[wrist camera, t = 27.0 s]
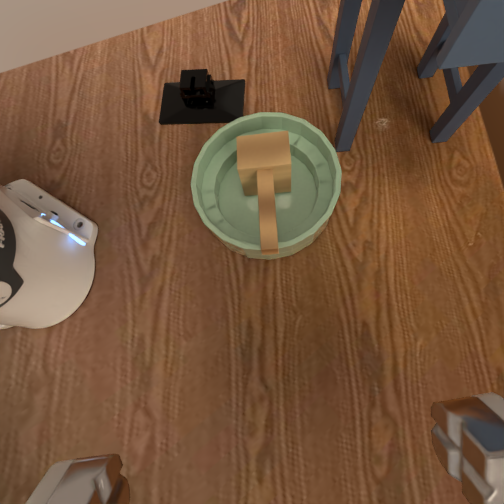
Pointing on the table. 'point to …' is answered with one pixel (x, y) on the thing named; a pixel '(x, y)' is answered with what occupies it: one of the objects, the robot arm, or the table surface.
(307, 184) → the bowl
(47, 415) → the table surface
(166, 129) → the table surface
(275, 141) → the mallet
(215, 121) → the black slotted stand
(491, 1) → the nightstand
